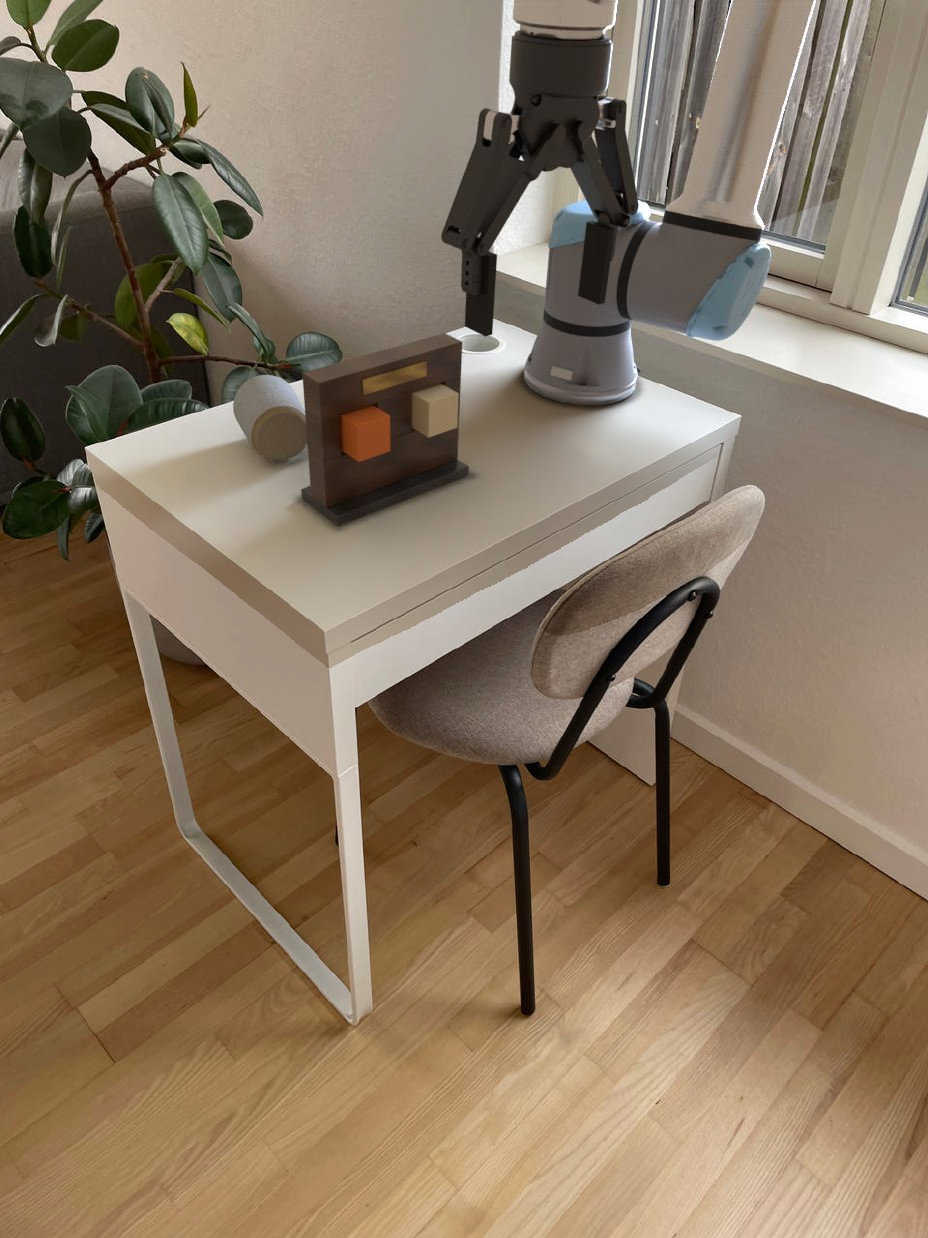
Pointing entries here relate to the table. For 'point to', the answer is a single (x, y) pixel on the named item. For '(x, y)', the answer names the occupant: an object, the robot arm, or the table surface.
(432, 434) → the beige key
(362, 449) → the orange key
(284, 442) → the ceramic mug
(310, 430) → the brown wooden upright panel
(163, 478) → the table surface
